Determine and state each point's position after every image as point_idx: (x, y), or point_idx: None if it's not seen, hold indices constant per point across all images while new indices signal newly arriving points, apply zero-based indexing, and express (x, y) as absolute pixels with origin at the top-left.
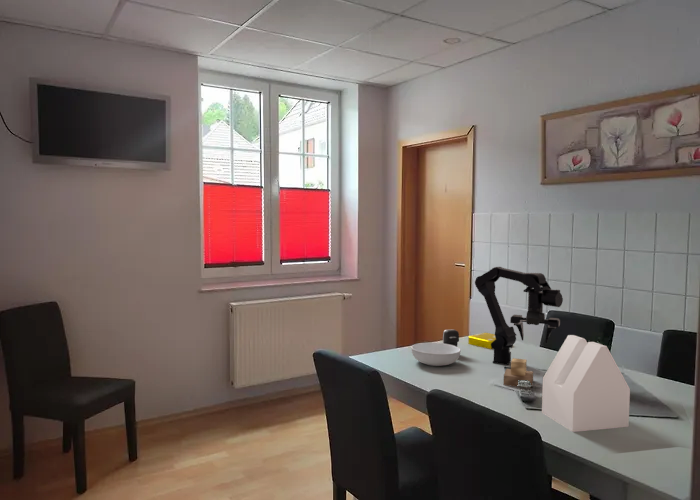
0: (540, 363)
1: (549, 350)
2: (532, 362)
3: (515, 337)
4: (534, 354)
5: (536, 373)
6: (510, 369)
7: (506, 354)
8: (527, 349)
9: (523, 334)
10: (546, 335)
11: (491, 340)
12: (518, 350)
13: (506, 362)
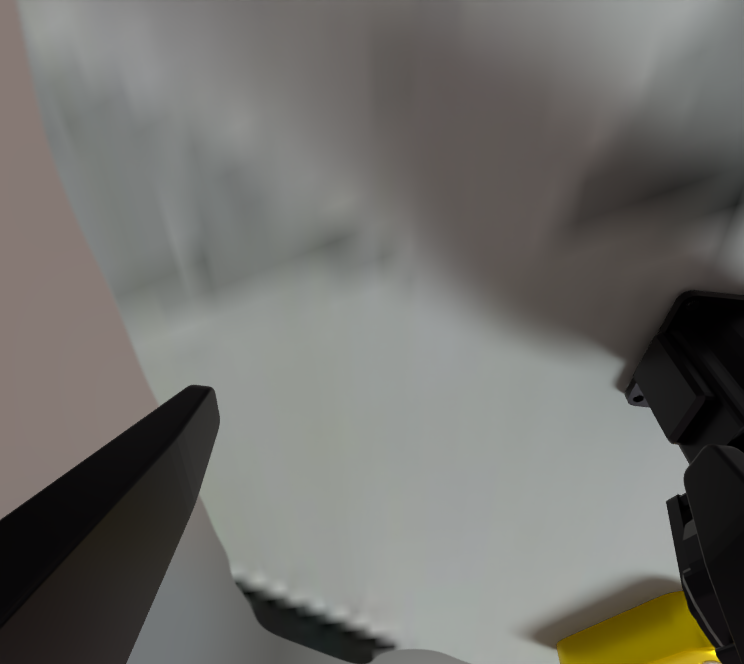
0: (379, 411)
1: (345, 611)
2: (438, 418)
3: (715, 611)
4: (421, 554)
5: (405, 77)
6: None
7: (736, 381)
8: (458, 609)
9: (730, 618)
10: (79, 533)
11: (706, 659)
12: (511, 593)
13: (690, 327)
